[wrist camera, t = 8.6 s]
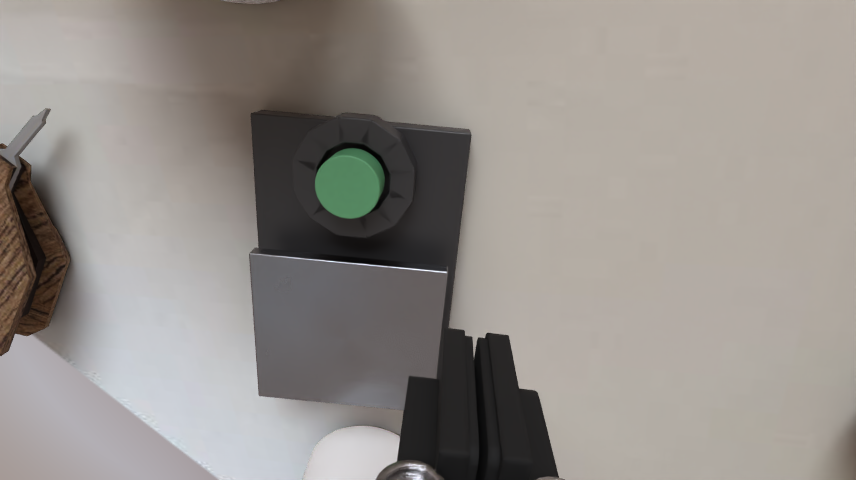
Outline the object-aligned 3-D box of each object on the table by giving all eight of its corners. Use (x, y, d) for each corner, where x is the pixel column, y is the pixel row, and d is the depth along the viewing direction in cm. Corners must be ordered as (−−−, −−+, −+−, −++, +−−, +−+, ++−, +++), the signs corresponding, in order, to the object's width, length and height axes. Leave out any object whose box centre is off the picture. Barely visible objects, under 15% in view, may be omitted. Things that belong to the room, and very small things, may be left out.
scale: (260, 100, 24) (235, 106, 21) (471, 120, 24) (474, 128, 21) (273, 361, 30) (255, 393, 27) (441, 378, 30) (440, 411, 27)
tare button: (324, 145, 22) (313, 152, 20) (386, 150, 22) (381, 158, 20) (324, 204, 23) (314, 216, 21) (383, 210, 23) (378, 222, 21)
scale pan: (254, 246, 24) (248, 253, 23) (448, 265, 24) (448, 272, 23) (263, 387, 27) (258, 396, 26) (432, 403, 27) (432, 413, 26)
